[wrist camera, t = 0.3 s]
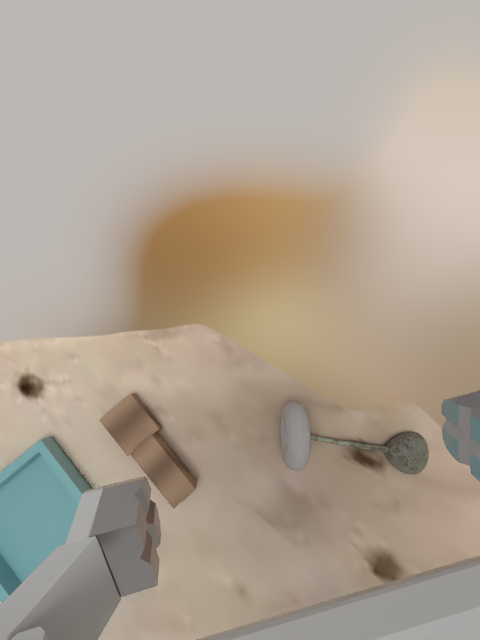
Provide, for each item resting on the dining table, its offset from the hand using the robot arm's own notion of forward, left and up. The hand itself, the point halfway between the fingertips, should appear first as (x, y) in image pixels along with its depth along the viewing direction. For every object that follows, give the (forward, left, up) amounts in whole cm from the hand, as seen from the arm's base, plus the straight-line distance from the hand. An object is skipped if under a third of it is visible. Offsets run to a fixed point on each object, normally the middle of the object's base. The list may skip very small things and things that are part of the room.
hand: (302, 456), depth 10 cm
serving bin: (+2, +33, -53) cm, 63 cm away
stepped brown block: (+2, +14, -53) cm, 55 cm away
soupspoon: (-19, -12, -54) cm, 58 cm away
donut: (-10, -4, -53) cm, 54 cm away
